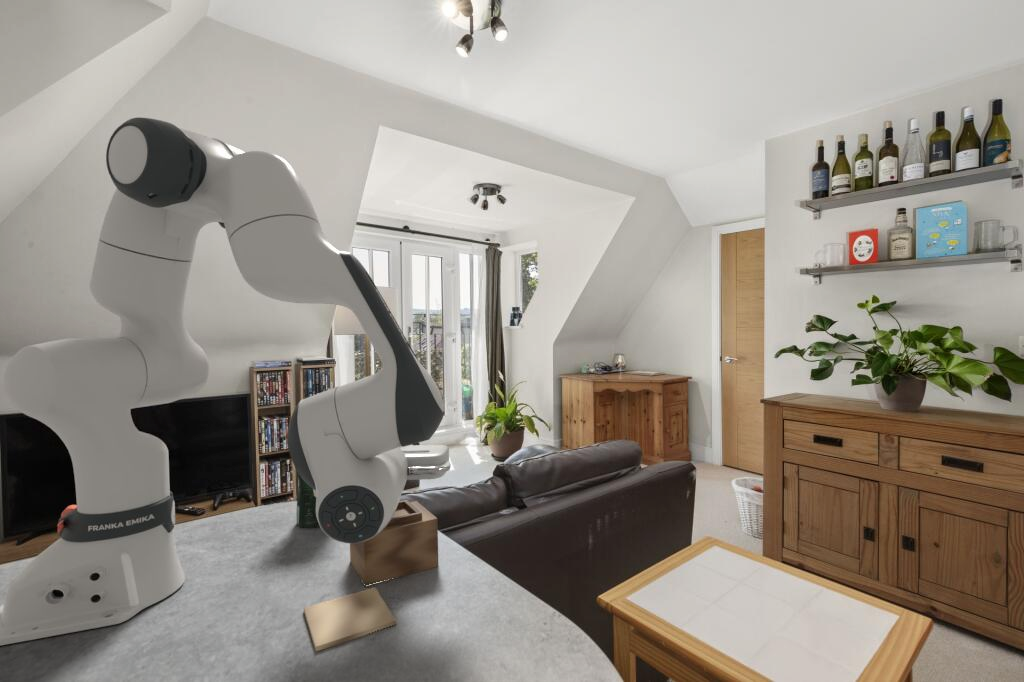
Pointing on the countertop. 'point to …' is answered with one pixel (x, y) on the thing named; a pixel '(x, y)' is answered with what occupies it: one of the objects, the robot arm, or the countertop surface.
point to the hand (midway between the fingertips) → (390, 449)
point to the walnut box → (398, 546)
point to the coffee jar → (306, 505)
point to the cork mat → (347, 618)
